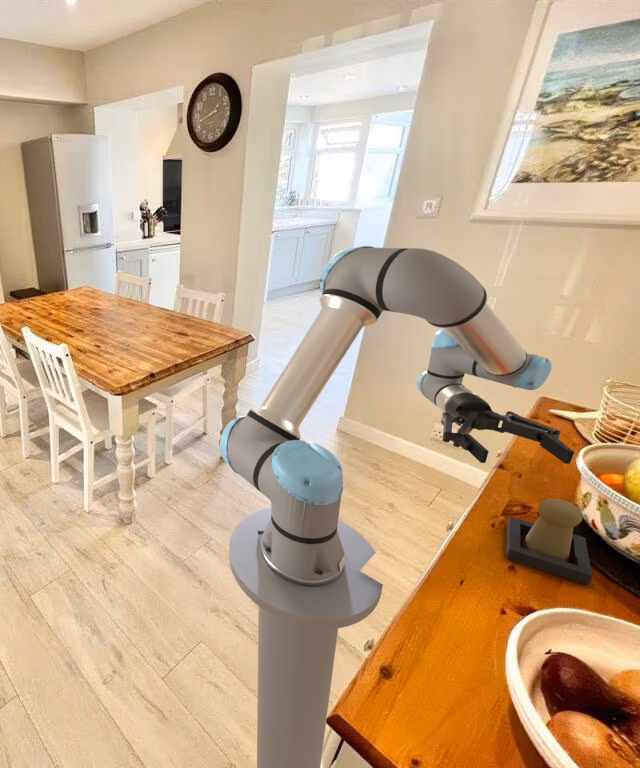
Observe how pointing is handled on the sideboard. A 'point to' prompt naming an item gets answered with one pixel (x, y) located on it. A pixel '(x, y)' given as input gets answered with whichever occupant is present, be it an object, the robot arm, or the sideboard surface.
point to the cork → (553, 529)
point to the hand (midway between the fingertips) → (526, 457)
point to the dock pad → (573, 571)
